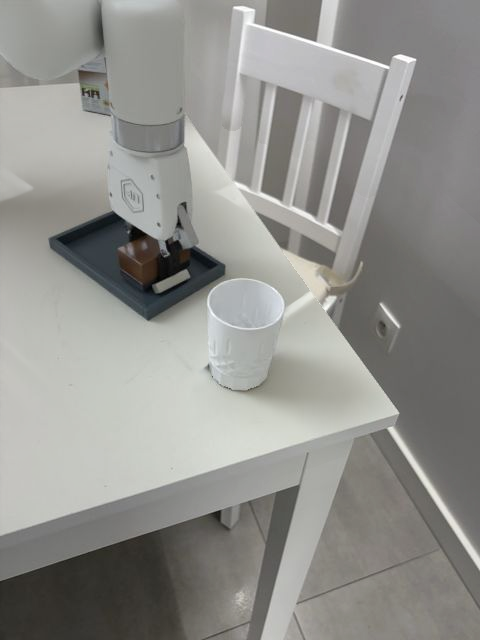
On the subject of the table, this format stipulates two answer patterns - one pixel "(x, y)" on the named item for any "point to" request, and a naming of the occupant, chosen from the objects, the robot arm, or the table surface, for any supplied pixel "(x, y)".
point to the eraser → (145, 261)
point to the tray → (103, 267)
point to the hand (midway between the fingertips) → (155, 265)
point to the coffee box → (94, 86)
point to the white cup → (243, 331)
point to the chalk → (171, 281)
